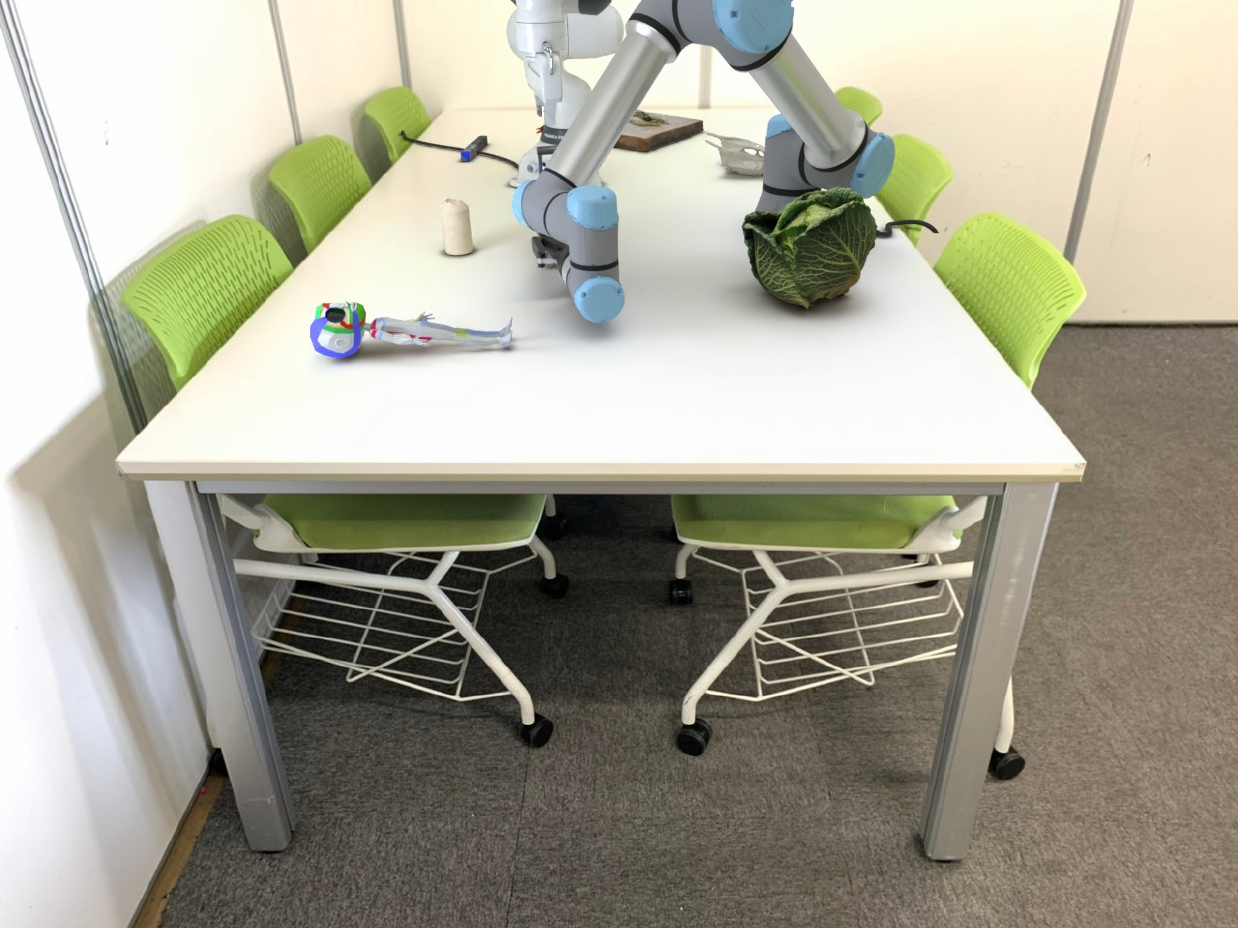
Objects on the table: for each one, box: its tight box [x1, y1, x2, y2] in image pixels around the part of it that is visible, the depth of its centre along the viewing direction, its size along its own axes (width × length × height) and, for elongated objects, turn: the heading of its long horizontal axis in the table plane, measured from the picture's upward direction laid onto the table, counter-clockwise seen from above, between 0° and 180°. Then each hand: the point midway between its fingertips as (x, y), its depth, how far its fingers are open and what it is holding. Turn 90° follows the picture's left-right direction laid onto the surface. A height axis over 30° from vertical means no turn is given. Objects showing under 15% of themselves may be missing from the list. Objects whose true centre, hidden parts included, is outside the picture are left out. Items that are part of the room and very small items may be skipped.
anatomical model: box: [705, 131, 765, 176], centre depth 220 cm, size 15×9×25 cm
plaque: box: [613, 109, 705, 152], centre depth 257 cm, size 30×7×30 cm
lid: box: [536, 145, 558, 175], centre depth 167 cm, size 17×5×9 cm, turn 13°
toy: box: [307, 300, 513, 360], centre depth 136 cm, size 10×8×30 cm
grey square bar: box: [460, 135, 489, 162], centre depth 244 cm, size 2×2×20 cm
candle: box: [439, 198, 474, 256], centre depth 173 cm, size 6×6×10 cm
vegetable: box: [741, 187, 878, 310], centre depth 148 cm, size 20×19×20 cm
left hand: (546, 121), depth 167 cm, fingers open, 8 cm apart
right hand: (559, 228), depth 168 cm, fingers closed on chest, 5 cm apart
